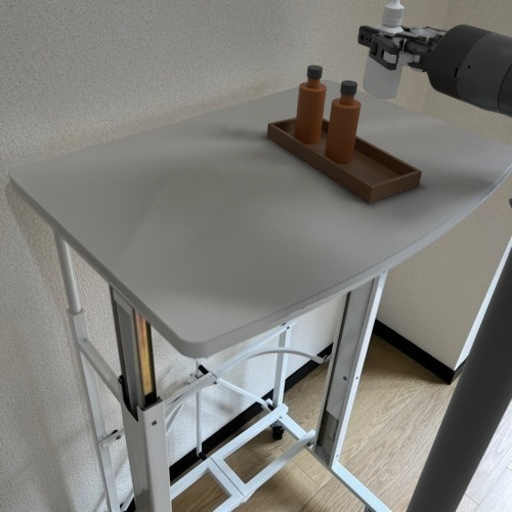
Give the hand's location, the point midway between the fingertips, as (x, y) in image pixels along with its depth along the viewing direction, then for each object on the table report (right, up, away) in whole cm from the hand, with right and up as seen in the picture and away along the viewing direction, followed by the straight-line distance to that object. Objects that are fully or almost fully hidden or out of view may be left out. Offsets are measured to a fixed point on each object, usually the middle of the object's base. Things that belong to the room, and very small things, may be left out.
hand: (372, 32), depth 71 cm
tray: (-2, -13, +18) cm, 22 cm away
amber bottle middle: (-2, -13, +17) cm, 22 cm away
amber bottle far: (-6, -9, +23) cm, 25 cm away
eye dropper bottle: (+1, -7, +2) cm, 8 cm away
